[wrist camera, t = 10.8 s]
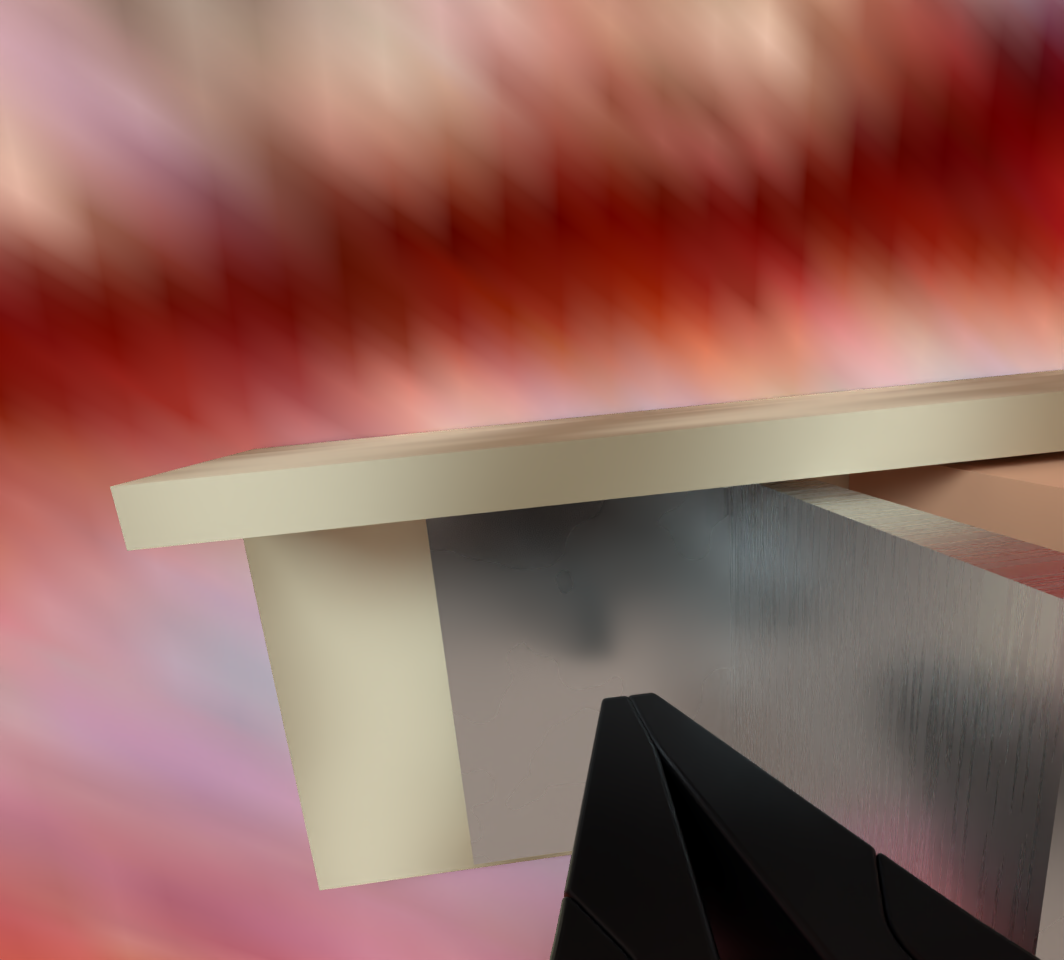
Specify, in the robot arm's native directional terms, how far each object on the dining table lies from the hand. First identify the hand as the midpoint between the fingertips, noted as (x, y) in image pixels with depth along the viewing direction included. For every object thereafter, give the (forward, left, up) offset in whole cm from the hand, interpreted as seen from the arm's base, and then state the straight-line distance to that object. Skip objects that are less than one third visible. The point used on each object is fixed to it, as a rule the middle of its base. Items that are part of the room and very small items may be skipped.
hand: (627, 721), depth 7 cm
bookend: (0, 0, -2) cm, 2 cm away
